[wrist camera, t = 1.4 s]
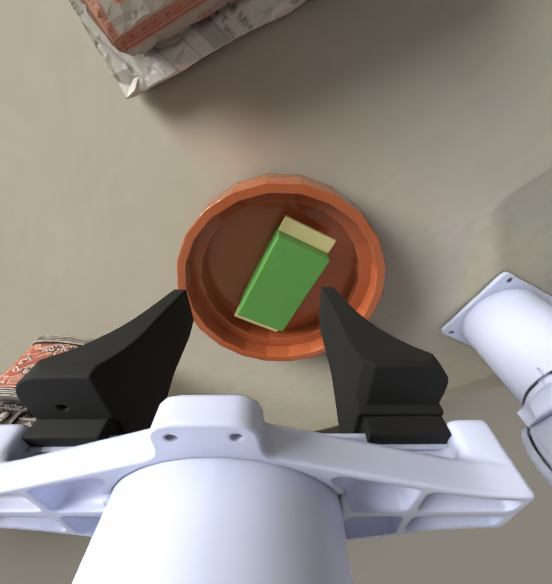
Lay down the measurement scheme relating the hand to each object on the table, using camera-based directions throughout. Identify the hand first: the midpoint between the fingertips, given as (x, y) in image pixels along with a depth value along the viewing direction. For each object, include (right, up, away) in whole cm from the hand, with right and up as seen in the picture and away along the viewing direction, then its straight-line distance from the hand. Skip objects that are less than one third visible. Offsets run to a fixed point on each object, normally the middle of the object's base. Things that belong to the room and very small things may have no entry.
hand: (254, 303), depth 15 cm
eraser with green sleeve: (+2, +2, +10) cm, 10 cm away
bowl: (+2, +3, +10) cm, 11 cm away
